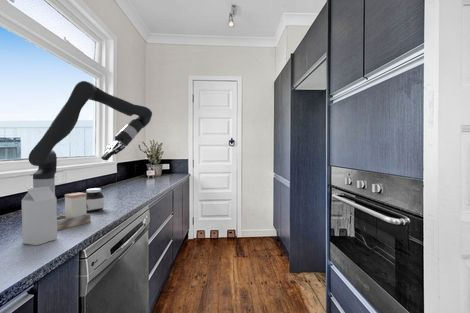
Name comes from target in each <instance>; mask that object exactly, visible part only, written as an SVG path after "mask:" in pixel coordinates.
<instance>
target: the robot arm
mask: <svg viewBox="0 0 470 313" xmlns="http://www.w3.org/2000/svg"><path fill="white" fill-rule="evenodd" d="M89 101H94V102H97V103H100V104H103V105H106V106H107V107H109V108H111V109H113V110H114V111H116V112H119V113H120V114H124V115H126V116H128V117H132V116H133V115H134V116H137V117H136V118H134V119H131V120H130V121H129V122H128V123H127V124H126V125H125V126H124V127H123V128H122V129H120V130H119V132H117V134H116V135H115V136H114V141H113V142H112V143H111V144H110V143H108V144H107V145H106V147H105V149H104V154H102V156H101V157H100V159H102V160H103V161H108V160H109V159H110V158H111V157H112V156H114V155H117V154H118V153H120V152H122V151H123V150H124V149H126V147H127V146H129V145H130V143H131V142H132V141H133V140H134V139H135V138H136V136H137V135H138V134H139V133H140V132H141V130H142V129H144V128H145V127H146V126H148V124H149V123H150V122H151V120H152V116H153V113H152V112H153V111H152V110H151V109H150V108H148V107H146V106H143V105H139V104H134V103H132V102H129V101H127V100H125V99H122V98H119V97H117V96H115V95H113V94H110V93H108V92H105V91H103V90H102V89H100V88H99V87H98V86H96V85H94V84H93V83H91V82H89V81H87V80H81V81H79V82H77V83H76V84H75V85H74V87H73V90H71V93H70V96H69V97H68V99H67V100H66V102H65V104H64V105H63V106H62V108H60V111H59V112H58V114H56V116H55V118H54V120H52V122H51V123H50V126H49V127H48V128H47V130H46V132H45V133H44V135H43V136H42V137H41V139H40V140H39V141H38V142H37V143H36V145H35V146H34V147H33V148H32V149H31V151H30V153H29V154H28V163H29V164H31V166H34V167H38V168H37V170H36V172H34V173H33V174H32V188H40V187H48V186H50V190H51V191H52V193H53V194H54V195H55V196H56V185H55V182H56V180H55V179H56V178H55V177H56V176H55V175H56V173H57V165H58V160H57V159H58V158H57V153H56V152H55V151H54V147H56V145H57V144H59V143H60V142H61V141H63V140H64V139H65V138H66V137H67V136H69V135H70V134H71V132H72V131H73V130H74V128H75V126H76V124H77V123H78V120H79V117H80V114H81V111H82V109H83V108H84V106H85V105H86V104H87V102H89Z"/></svg>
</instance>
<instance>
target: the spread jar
mask: <svg viewBox="0 0 470 313" xmlns="http://www.w3.org/2000/svg"><path fill="white" fill-rule="evenodd" d="M85 193H86V194H87V196H86V213H97V212H101V211H103V210H104V207H105V196H104V194H103V193H102V188H100V187H94V188H88V189H86V192H85Z"/></svg>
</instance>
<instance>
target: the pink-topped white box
mask: <svg viewBox="0 0 470 313" xmlns="http://www.w3.org/2000/svg"><path fill="white" fill-rule="evenodd" d="M86 193H87V192H71V193H65V194H64V207H65V208H64V211H65V212H64V215H65V219H67V218H72V217H77V216H82V215H87V212H86V196H87V194H86Z"/></svg>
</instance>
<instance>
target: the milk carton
mask: <svg viewBox="0 0 470 313" xmlns="http://www.w3.org/2000/svg"><path fill="white" fill-rule="evenodd" d="M57 202H58V201H57V197H56V194H55V195H54V194H53V193H52V191H51V190H50V186H48V187H40V188H33V187H32V188H28V189H27V193H26V194H25V195H24V197H23V198H22V199H21V231H22V232H21V234H22V235H21V240H22V244H25V245H26V244H27V245H32V246H39V245H42V244H45V243H47V242H51V241H54V240H57V239H58V230H57V216H58V211H57V210H58V207H57V206H58V204H57Z"/></svg>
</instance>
